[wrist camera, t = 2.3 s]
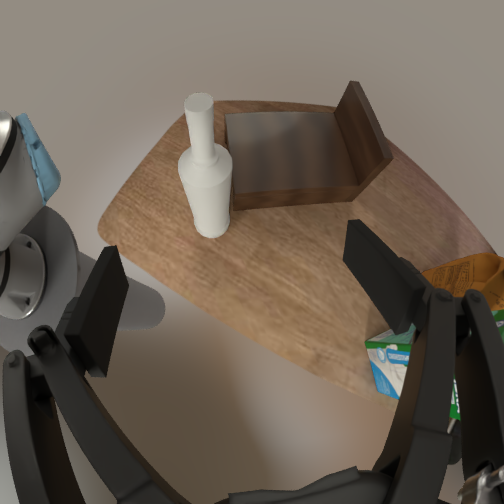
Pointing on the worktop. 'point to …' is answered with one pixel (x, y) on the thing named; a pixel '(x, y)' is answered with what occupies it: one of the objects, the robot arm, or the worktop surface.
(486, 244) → the worktop surface
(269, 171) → the shelf
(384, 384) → the milk carton
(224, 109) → the worktop surface
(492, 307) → the coffee package
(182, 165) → the bottle
